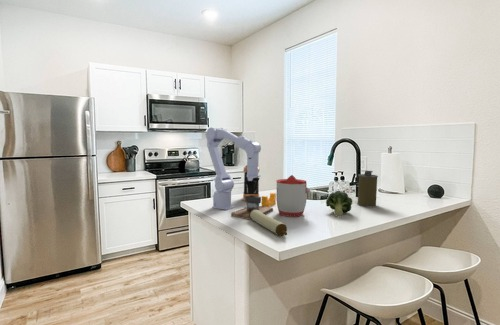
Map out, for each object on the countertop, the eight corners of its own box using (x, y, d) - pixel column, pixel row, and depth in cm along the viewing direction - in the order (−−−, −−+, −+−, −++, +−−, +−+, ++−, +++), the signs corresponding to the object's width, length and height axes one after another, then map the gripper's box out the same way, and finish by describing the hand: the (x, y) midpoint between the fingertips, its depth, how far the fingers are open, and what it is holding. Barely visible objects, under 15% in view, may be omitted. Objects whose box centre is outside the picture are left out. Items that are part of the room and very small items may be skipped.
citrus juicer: (310, 219, 139) (311, 177, 137) (274, 217, 142) (274, 176, 140) (309, 211, 154) (310, 173, 152) (276, 209, 157) (277, 172, 155)
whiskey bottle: (259, 201, 176) (260, 148, 174) (243, 201, 176) (243, 148, 173) (258, 197, 187) (259, 147, 184) (243, 197, 187) (243, 147, 184)
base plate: (231, 215, 143) (231, 212, 143) (251, 207, 161) (251, 204, 161) (254, 219, 137) (254, 216, 137) (272, 210, 154) (273, 207, 154)
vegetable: (319, 211, 146) (323, 193, 158) (337, 227, 148) (339, 208, 160) (339, 200, 139) (341, 182, 151) (357, 217, 141) (358, 198, 153)
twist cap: (256, 212, 144) (256, 197, 143) (242, 210, 148) (243, 195, 148) (263, 209, 149) (263, 195, 149) (250, 207, 154) (250, 193, 153)
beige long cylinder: (245, 218, 139) (245, 207, 139) (256, 216, 142) (256, 206, 141) (280, 240, 110) (280, 227, 110) (292, 238, 112) (293, 225, 112)
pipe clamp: (268, 203, 173) (269, 192, 172) (275, 204, 170) (275, 193, 170) (258, 207, 162) (258, 195, 162) (265, 208, 160) (265, 196, 160)
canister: (377, 204, 172) (378, 170, 170) (375, 208, 163) (377, 172, 161) (357, 202, 177) (359, 169, 175) (355, 205, 168) (356, 171, 166)
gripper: (258, 168, 140) (258, 196, 141) (262, 165, 154) (262, 190, 156) (244, 167, 141) (243, 195, 143) (249, 164, 156) (249, 190, 157)
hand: (252, 192), depth 149 cm, fingers open, 7 cm apart
